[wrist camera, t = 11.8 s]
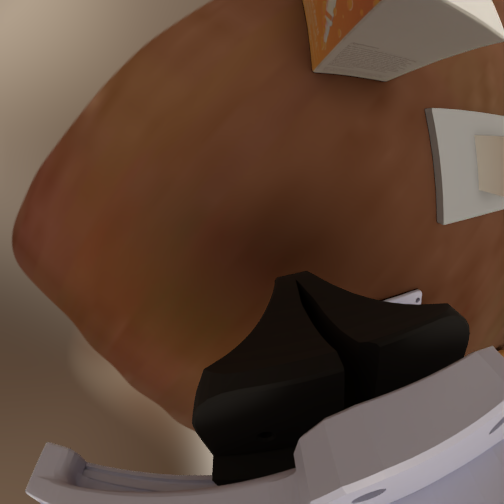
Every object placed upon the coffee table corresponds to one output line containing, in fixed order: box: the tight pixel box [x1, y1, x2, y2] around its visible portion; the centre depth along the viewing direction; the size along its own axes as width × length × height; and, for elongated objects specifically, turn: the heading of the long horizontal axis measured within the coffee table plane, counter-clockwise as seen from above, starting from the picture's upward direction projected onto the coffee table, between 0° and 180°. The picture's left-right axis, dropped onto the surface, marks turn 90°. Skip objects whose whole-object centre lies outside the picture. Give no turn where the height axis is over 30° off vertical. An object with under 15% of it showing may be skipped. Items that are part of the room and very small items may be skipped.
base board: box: [425, 108, 504, 225], centre depth 18 cm, size 10×16×1 cm, turn 102°
